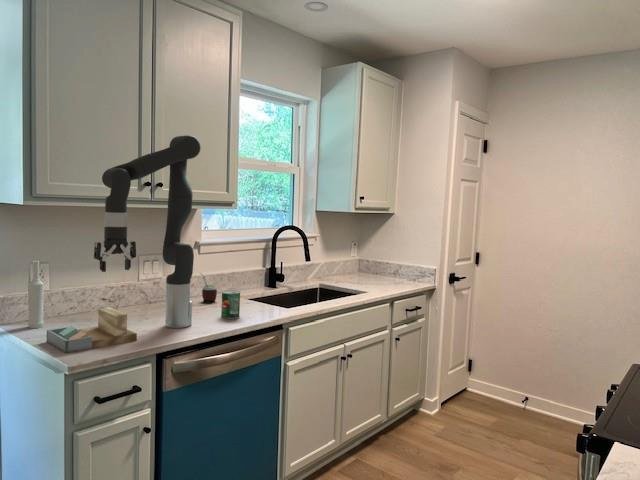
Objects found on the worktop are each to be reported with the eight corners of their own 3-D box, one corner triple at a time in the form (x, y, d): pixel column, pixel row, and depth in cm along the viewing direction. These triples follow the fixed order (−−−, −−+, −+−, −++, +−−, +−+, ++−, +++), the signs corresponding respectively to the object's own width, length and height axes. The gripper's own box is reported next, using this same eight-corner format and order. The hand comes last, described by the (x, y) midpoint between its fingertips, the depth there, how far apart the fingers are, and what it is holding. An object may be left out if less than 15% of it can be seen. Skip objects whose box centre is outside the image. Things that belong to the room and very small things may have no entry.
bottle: (46, 325, 190) (46, 260, 188) (39, 328, 185) (39, 262, 183) (32, 324, 190) (32, 260, 188) (25, 328, 185) (25, 261, 183)
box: (71, 337, 175) (71, 326, 175) (92, 348, 164) (92, 336, 164) (46, 341, 169) (46, 330, 169) (65, 353, 158) (65, 341, 158)
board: (114, 330, 187) (114, 324, 187) (136, 340, 175) (136, 333, 175) (71, 337, 175) (71, 330, 175) (92, 348, 164) (92, 341, 164)
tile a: (74, 331, 174) (70, 325, 173) (79, 334, 171) (76, 328, 170) (61, 338, 171) (58, 333, 170) (66, 341, 168) (63, 335, 167)
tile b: (84, 336, 168) (81, 330, 167) (89, 339, 165) (86, 333, 164) (71, 344, 165) (68, 338, 164) (77, 347, 162) (73, 341, 161)
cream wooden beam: (109, 326, 183) (109, 307, 183) (126, 333, 174) (127, 314, 173) (98, 327, 181) (98, 308, 180) (115, 335, 171) (115, 315, 171)
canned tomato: (217, 317, 215) (218, 292, 214) (228, 313, 222) (229, 289, 221) (232, 319, 212) (232, 294, 211) (243, 316, 219) (243, 291, 218)
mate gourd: (217, 301, 249) (218, 271, 248) (214, 304, 241) (214, 273, 240) (203, 300, 249) (203, 270, 248) (198, 303, 241) (199, 272, 240)
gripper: (130, 224, 183) (129, 268, 184) (90, 224, 172) (90, 270, 174) (140, 225, 178) (139, 270, 179) (100, 226, 167) (99, 273, 169)
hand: (115, 270), depth 176 cm, fingers open, 8 cm apart
